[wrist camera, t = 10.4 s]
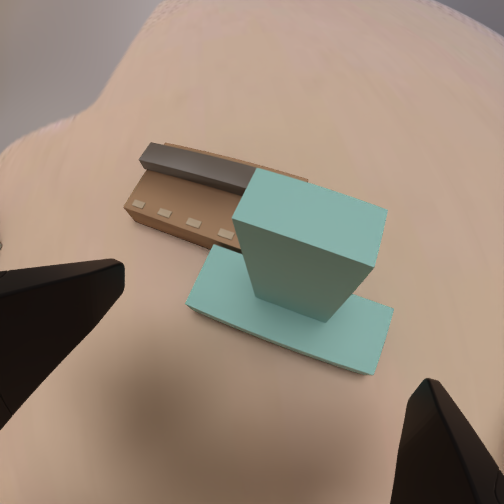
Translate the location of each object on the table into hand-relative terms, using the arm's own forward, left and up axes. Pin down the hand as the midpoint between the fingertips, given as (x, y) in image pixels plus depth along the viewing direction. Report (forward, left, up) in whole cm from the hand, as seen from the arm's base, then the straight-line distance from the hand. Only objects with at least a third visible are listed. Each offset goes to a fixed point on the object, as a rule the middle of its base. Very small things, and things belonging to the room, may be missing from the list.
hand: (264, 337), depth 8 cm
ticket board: (+1, +12, -12) cm, 17 cm away
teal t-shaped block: (+2, +2, -12) cm, 12 cm away
